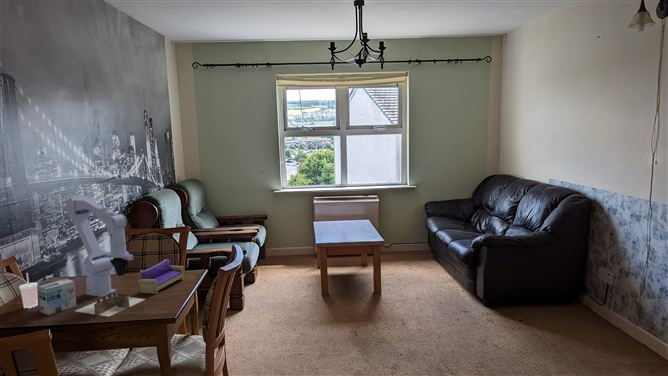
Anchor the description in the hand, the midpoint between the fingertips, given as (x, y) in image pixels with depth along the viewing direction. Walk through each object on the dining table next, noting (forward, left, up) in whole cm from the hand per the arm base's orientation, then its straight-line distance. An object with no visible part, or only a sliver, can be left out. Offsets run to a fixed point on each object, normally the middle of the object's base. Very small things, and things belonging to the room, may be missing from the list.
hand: (120, 275), depth 175 cm
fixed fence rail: (+9, -8, -9) cm, 15 cm away
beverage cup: (-30, -18, -10) cm, 36 cm away
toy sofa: (+6, +17, -10) cm, 21 cm away
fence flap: (+5, -12, -9) cm, 16 cm away
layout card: (+2, -8, -10) cm, 13 cm away
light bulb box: (-15, -17, -10) cm, 25 cm away
